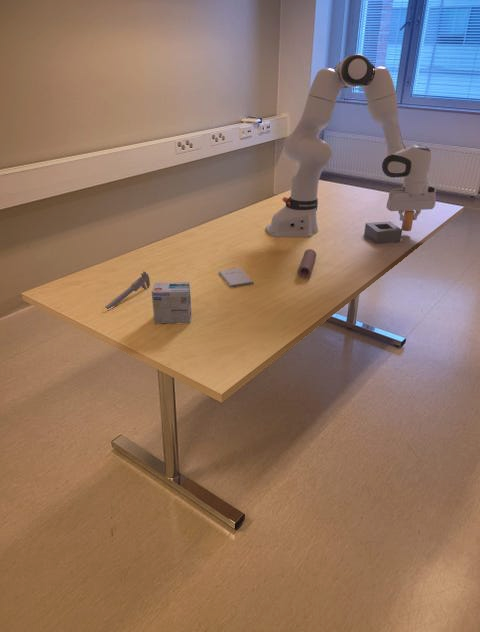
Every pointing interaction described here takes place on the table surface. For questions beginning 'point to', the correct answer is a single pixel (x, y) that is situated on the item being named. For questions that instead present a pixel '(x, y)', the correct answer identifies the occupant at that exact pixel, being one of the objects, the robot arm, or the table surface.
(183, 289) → the light bulb box
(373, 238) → the socket holder
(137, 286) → the caliper
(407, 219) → the peg
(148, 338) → the table surface
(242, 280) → the external hard drive
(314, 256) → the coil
